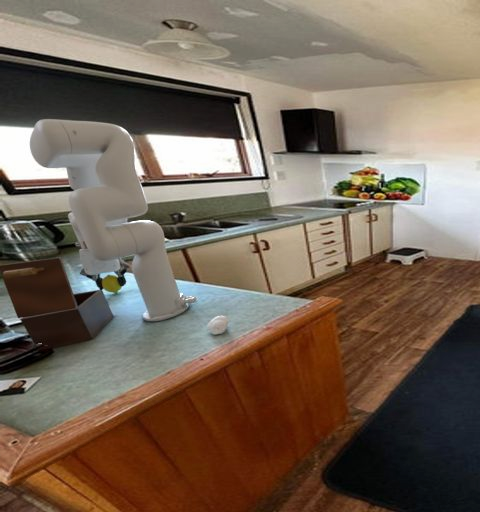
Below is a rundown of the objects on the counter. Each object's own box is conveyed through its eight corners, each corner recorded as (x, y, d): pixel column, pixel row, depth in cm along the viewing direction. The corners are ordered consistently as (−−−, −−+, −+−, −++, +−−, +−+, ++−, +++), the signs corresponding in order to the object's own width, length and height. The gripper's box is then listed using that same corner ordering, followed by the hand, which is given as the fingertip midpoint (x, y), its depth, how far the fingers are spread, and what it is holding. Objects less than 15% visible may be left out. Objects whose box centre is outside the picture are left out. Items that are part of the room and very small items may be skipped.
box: (68, 325, 87) (53, 297, 84) (114, 316, 92) (102, 289, 88) (38, 350, 76) (19, 319, 72) (92, 339, 80) (77, 308, 76)
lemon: (113, 296, 106) (105, 278, 103) (102, 295, 107) (94, 277, 104) (128, 290, 111) (121, 272, 108) (118, 289, 112) (110, 271, 109)
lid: (0, 265, 70) (-21, 268, 65) (61, 257, 74) (46, 260, 69) (20, 317, 72) (2, 324, 67) (77, 307, 76) (64, 313, 72)
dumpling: (235, 327, 83) (232, 318, 81) (221, 339, 79) (217, 330, 77) (217, 320, 85) (214, 311, 83) (203, 332, 81) (199, 322, 79)
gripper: (57, 250, 95) (79, 295, 101) (119, 242, 102) (136, 286, 108) (70, 244, 102) (90, 287, 108) (128, 237, 108) (143, 279, 114)
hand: (113, 286), depth 108 cm, fingers closed on lemon, 5 cm apart
